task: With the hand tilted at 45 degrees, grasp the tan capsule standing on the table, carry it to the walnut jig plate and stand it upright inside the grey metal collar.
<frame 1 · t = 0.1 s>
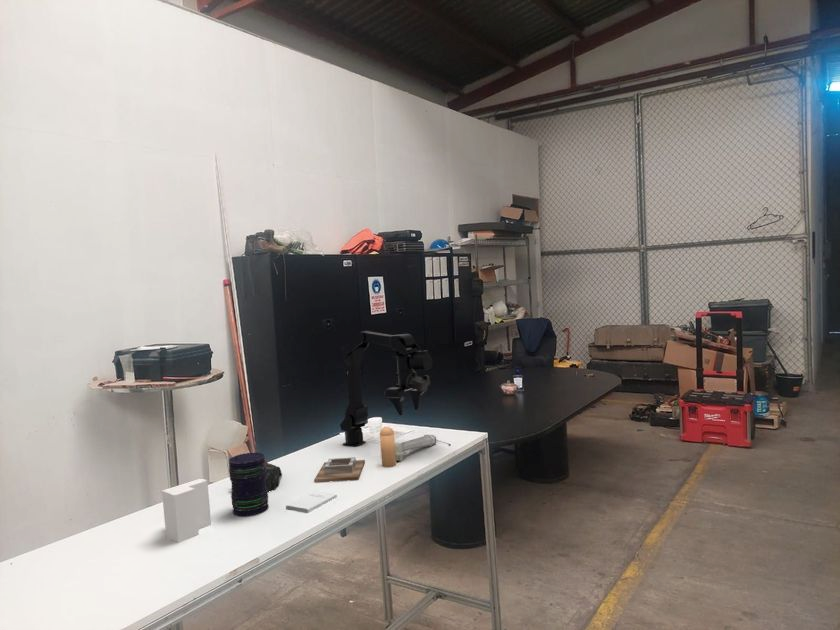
hand: (408, 412, 210), 15 cm above the table, tool pointing down, fingers open, 9 cm apart
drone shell: (259, 485, 187), on the table
storage jar: (251, 510, 164), on the table
external hard drive: (312, 505, 167), on the table
tan capsule: (389, 464, 197), on the table
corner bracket: (187, 530, 153), on the table
grey cylindrical tool: (413, 454, 210), on the table
jig: (340, 472, 193), on the table
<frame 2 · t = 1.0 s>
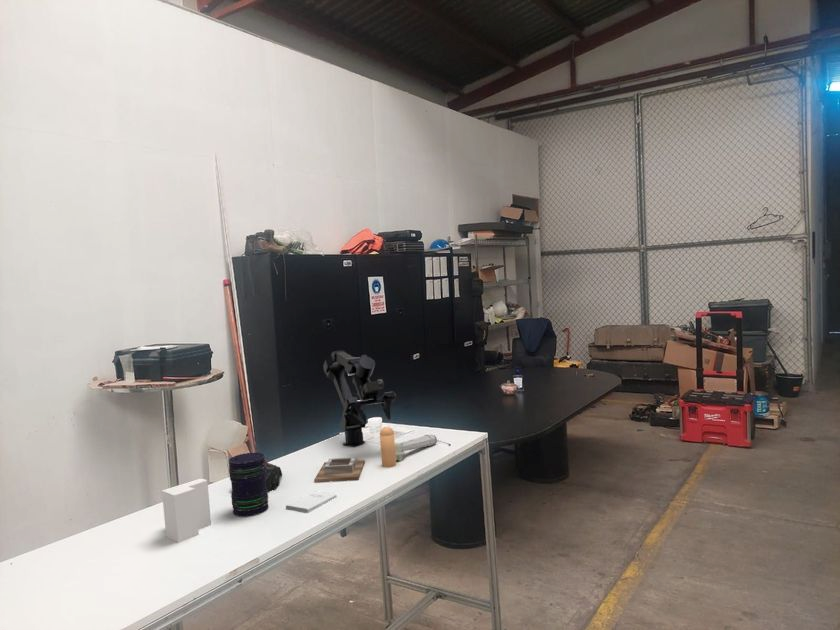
hand: (377, 421, 204), 13 cm above the table, tool tilted 45°, fingers open, 9 cm apart
nothing on the table moved.
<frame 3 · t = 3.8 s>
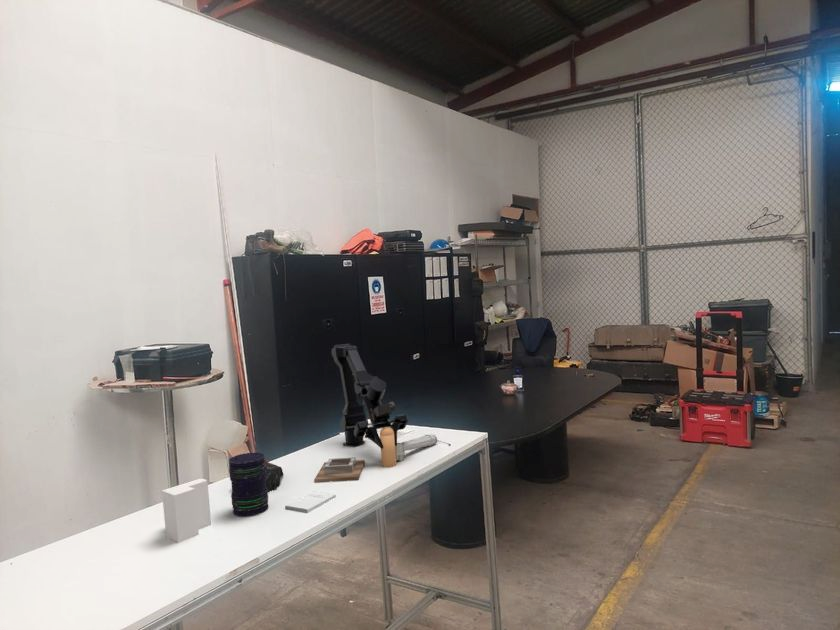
hand: (389, 446, 196), 7 cm above the table, tool tilted 45°, fingers closed on tan capsule, 5 cm apart
tan capsule: (389, 464, 197), on the table, touching gripper
everything else where it was.
when the fingers open (8 cm above the table, at t = 8.0 s): tan capsule stays where it is, resting on jig.
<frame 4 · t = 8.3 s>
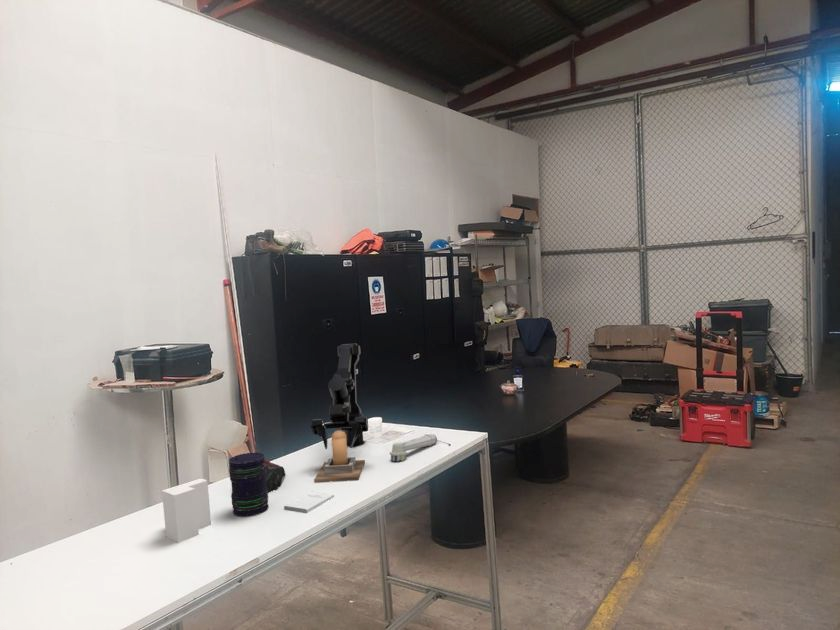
hand: (338, 447, 191), 9 cm above the table, tool tilted 45°, fingers open, 8 cm apart
tan capsule: (340, 469, 193), point 1 cm above the table, touching jig
everything else where it was.
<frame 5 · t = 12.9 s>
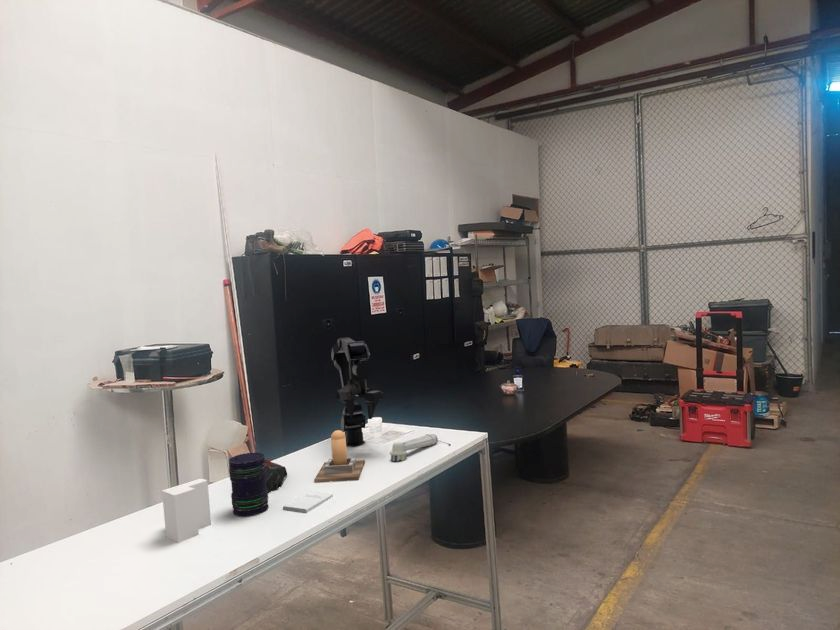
hand: (360, 418, 213), 13 cm above the table, tool pointing down, fingers open, 9 cm apart
at the end: tan capsule 0.0 cm off-centre on the jig, point 1.0 cm above the jig's base; tan capsule tilted 0°; the gripper is holding nothing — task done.
